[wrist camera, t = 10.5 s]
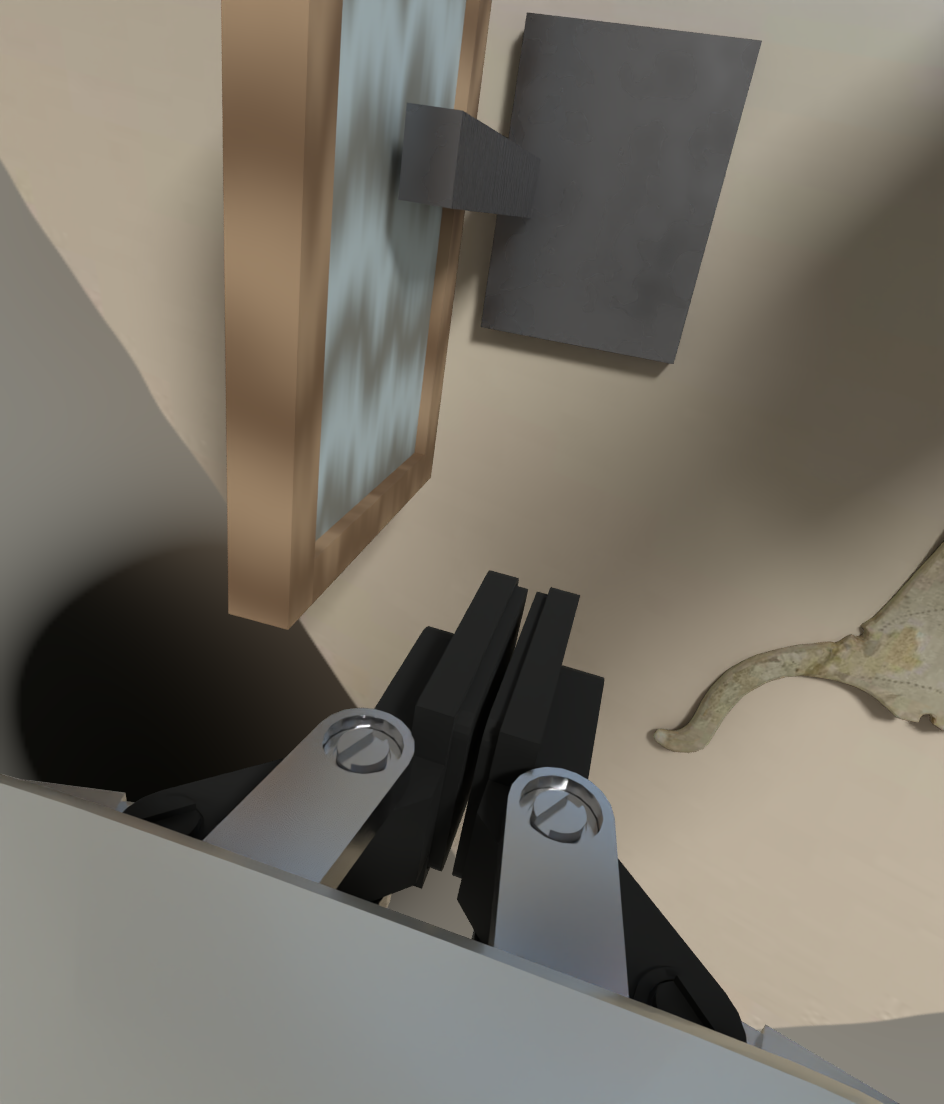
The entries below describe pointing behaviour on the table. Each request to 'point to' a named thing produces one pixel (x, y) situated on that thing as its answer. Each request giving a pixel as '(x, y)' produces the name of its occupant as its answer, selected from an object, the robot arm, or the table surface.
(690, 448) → the table surface
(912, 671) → the decorative wall piece
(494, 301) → the frame stand
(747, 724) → the table surface
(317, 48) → the picture frame
